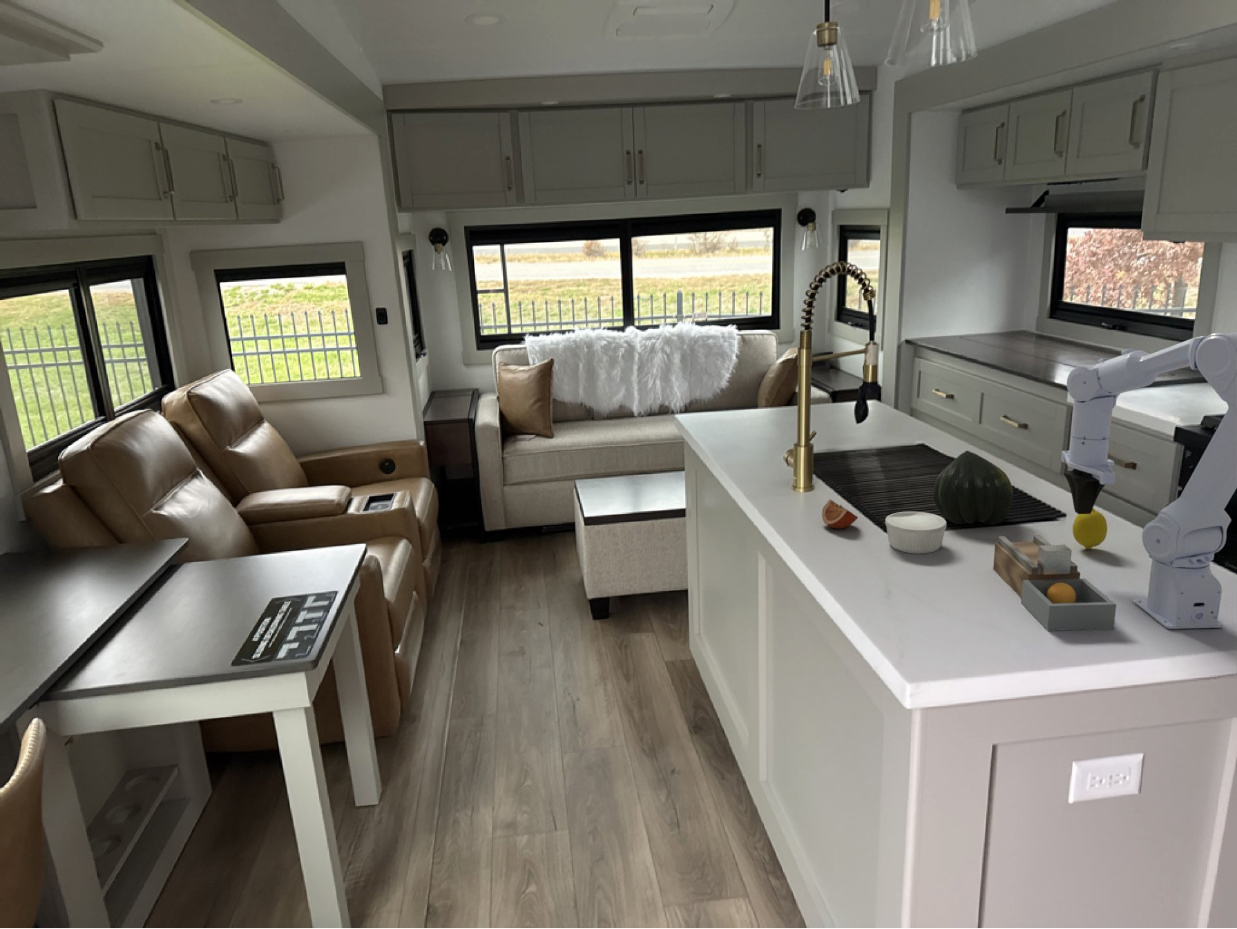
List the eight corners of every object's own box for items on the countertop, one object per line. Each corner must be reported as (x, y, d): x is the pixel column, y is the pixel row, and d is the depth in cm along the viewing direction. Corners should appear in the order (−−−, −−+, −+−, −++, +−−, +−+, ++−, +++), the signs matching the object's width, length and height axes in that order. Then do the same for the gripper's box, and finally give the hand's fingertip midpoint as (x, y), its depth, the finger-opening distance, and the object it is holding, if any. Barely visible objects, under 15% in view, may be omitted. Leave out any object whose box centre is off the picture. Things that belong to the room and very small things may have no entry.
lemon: (1109, 555, 150) (1114, 513, 148) (1076, 554, 151) (1080, 513, 149) (1099, 544, 155) (1103, 503, 153) (1066, 543, 156) (1070, 503, 154)
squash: (1007, 513, 158) (1013, 444, 164) (925, 508, 165) (933, 442, 171) (1011, 541, 169) (1016, 475, 175) (934, 535, 177) (941, 472, 182)
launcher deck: (1077, 601, 133) (1080, 565, 131) (1026, 603, 133) (1028, 567, 132) (1039, 567, 146) (1042, 535, 144) (993, 569, 147) (995, 536, 145)
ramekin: (918, 531, 167) (919, 507, 165) (958, 549, 157) (960, 523, 155) (872, 541, 163) (873, 516, 162) (910, 560, 153) (911, 533, 152)
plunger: (1069, 573, 131) (1071, 550, 130) (1043, 574, 131) (1045, 551, 130) (1062, 567, 133) (1064, 544, 132) (1036, 568, 133) (1038, 545, 132)
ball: (1083, 603, 127) (1076, 578, 129) (1056, 604, 127) (1049, 579, 129) (1072, 611, 130) (1066, 587, 132) (1046, 612, 130) (1040, 588, 132)
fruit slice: (816, 522, 176) (816, 499, 174) (845, 518, 177) (845, 496, 176) (833, 535, 168) (833, 512, 166) (863, 531, 169) (864, 508, 168)
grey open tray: (1113, 628, 123) (1116, 604, 122) (1047, 630, 124) (1049, 606, 123) (1082, 601, 133) (1084, 578, 132) (1021, 603, 133) (1022, 580, 132)
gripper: (1138, 445, 131) (1129, 526, 135) (1093, 425, 145) (1086, 498, 149) (1092, 447, 132) (1084, 527, 135) (1051, 427, 146) (1045, 500, 149)
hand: (1082, 512), depth 142 cm, fingers closed
